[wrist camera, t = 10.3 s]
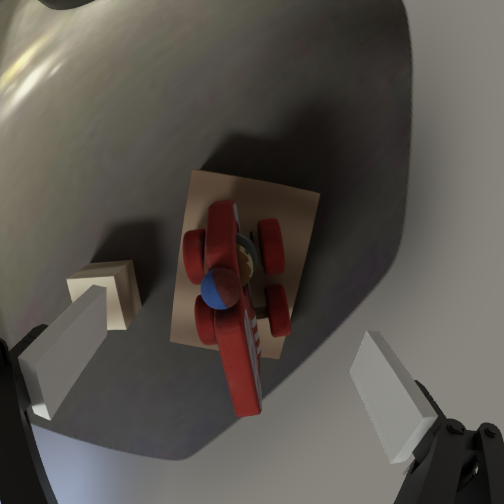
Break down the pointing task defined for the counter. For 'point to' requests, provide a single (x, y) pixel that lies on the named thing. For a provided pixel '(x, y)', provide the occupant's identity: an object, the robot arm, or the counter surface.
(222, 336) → the toy fire truck
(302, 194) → the plinth
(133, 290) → the birch block
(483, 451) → the robot arm
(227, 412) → the counter surface
